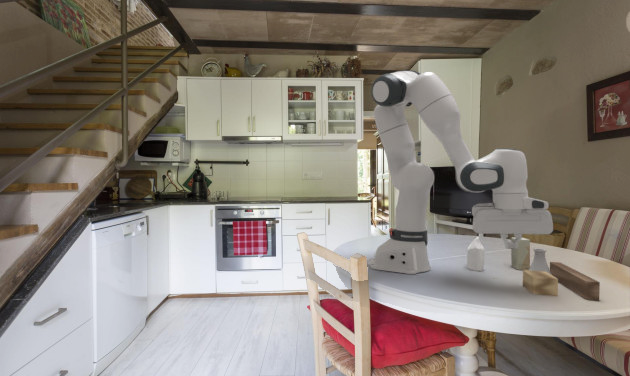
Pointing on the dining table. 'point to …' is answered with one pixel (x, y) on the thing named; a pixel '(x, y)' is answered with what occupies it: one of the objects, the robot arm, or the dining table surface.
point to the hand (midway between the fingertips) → (511, 248)
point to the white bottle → (475, 255)
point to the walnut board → (576, 281)
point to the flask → (539, 261)
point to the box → (521, 255)
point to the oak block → (540, 282)
